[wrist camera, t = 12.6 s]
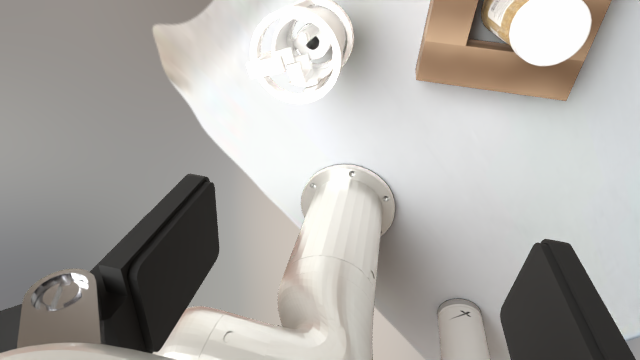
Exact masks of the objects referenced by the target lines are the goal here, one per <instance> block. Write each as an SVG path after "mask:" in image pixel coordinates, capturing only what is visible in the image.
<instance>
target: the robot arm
mask: <svg viewBox="0 0 640 360" xmlns="http://www.w3.org/2000/svg"><path fill="white" fill-rule="evenodd" d="M352 171H354V172H352ZM301 208H302V213H303V215H304V218H305V220H304V222H303V225H302V228H301V230H300V233H299V235H298V238H297V241H296V243H295V246H294V248H293V251H292V254H291V256H290V259H289V262H288V264H287V267H286V270H285V272H284V275H283V278H282V280H281V283H280V287H279V291H278V311H279V316H280V320H281V323H282V326H283V327H282V326H279V325H278V326H274V325H271V324H268V323H264V322H261V321H257V320H254V319H250V318H247V317H243V316H240V315H236V314H233V313H229V312H226V311H223V310H219V309H214V308H210V307H204V306H195V307H190V308H187V306H188V305H189V303H190V302H191V300H192V298H193V297H194V295H195V293H196V292H197V290H198V289H199V287H200V285H201V284H202V282H203V280H204V279H205V277H206V276H207V274H208V273H209V271H210V269H211V268H212V266H213V264H214V263H215V261H216V259H217V257H218V254H219V239H218V226H217V212H216V200H215V187H214V184H213V183H211V182H210V181H209V179H208V177H205V176H199V175H194V174H188V175H186V176H185V177H184V178H183V179H182V180H181V181H180V182H179V183H178V184H177V185H176V186H175V187H174V188H173V189H172V190H171V191H170V192H169V193H168V194H167V195H166V196H165V197H164V198H163V199H162V200H161V201H160V202H159V203H158V205H156V206H155V208H153V210H151V212H149V213H148V214H147V215H146V216H145V217H144V218H143V219H142V220H141V221H140V222H139V223H138V224H137V225H136V226H135V227H134V228H133V229H132V230H131V231H130V232H129V233H128V234H127V235H126V236H125V237H124V238H123V239H122V240H121V241H120V242H119V243H118V244H117V245H116V246H115V247H114V248H113V249H112V250H111V251H110V252H109V253H108V254H107V255H106V256H105V257H104V258H103V259H102V260H101V261H100V262H99V263H98V264H97V265H96V266H95V267H94V268H93V269H92V270H91V271H90V272H89V271H86V270H83V269H66V270H61V271H58V272H55V273H52V274H49V275H48V276H46V277H44V278H42V279H40V280H39V281H38V282H36V283H35V284H34V285H32V286H31V287H30V289H29V290H28V291H27V293H26V294H25V296H24V299H23V302H22V304H20V305H17V306H14V307H12V308H8V309H5V310H2V311H0V360H373V354H372V327H373V312H374V302H375V289H376V278H377V267H378V256H379V245H380V237H381V236H382V235H383V234H384V233H385V232H386V231H387V230H388V229H389V227H390V226H391V224H392V221H393V219H394V213H395V202H394V198H393V194H392V192H391V190H390V188H389V187H388V185H387V184H386V183H385V182H384V181H383V180H382V179H381V178H380V177H379V176H378V175H376V174H375V173H373V172H371V171H370V170H368V169H365V168H362V167H359V166H355V165H345V164H341V165H333V166H330V167H327V168H324V169H322V170H320V171H318V172H317V173H316V174H314V175H313V176H312V177H311V178H310V180H309V181H308V182H307V184H306V186H305V188H304V190H303V193H302V196H301ZM186 308H187V309H186ZM500 318H501V323H502V327H503V331H504V335H505V338H506V342H507V346H508V350H509V354H510V358H511V360H636V359H635V357H634V356H633V354H632V352H631V350H630V349H629V347H628V345H627V343H626V341H625V340H624V338H623V336H622V334H621V333H620V331H619V329H618V327H617V326H616V324H615V322H614V320H613V319H612V317H611V315H610V313H609V311H608V310H607V308H606V306H605V304H604V303H603V301H602V299H601V297H600V296H599V294H598V292H597V290H596V289H595V287H594V285H593V283H592V281H591V280H590V278H589V276H588V274H587V273H586V271H585V269H584V267H583V266H582V264H581V262H580V260H579V259H578V257H577V255H576V253H575V251H574V250H573V248H572V246H571V245H570V244H569V243H565V242H560V241H554V240H549V239H544V240H543V241H542V242H541V243H535V244H534V246H533V247H532V249H531V251H530V253H529V255H528V257H527V259H526V261H525V263H524V265H523V267H522V269H521V271H520V272H519V274H518V276H517V278H516V280H515V282H514V284H513V286H512V288H511V290H510V292H509V294H508V296H507V298H506V300H505V302H504V304H503V306H502V308H501V313H500Z"/></svg>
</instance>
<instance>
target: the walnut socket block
mask: <svg viewBox="0 0 640 360" xmlns="http://www.w3.org/2000/svg"><path fill="white" fill-rule="evenodd" d="M582 1H584V3H585V4H586V5H587V6H588V8H589V10H590V13H591V19H592V23H591V30H590V33H589V36H588V38H587V40H586V41H585V43H584V44H583V46H582V47H581V48H580V49H579V51H577V52H576V53H575V54H574V55H573V56H572V57H570V58H569V59H567V60H565V61H563V62H561V63H559V64H556V65H551V66H536V65H533V64H530V63H528V62H526V61H525V60H523V59H522V58H520V57H519V56H518V55H517V54H516V53H515V52H514V50H513V49H512V47H511V46H510V45H509V44H505V43H497V42H489V41H481V40H473V39H468V36H469V32H470V28H471V25H472V21H473V18H474V14H475V11H476V7H477V3H478V0H431V1H430V5H429V10H428V14H427V19H426V23H425V28H424V33H423V37H422V42H421V46H420V51H419V55H418V60H417V65H416V69H415V70H416V80H420V81H427V82H434V83H442V84H449V85H456V86H463V87H470V88H477V89H485V90H492V91H499V92H506V93H513V94H520V95H528V96H535V97H542V98H549V99H556V100H563V101H566V100H567V98H568V96H569V94H570V91H571V89H572V87H573V85H574V83H575V80H576V78H577V76H578V74H579V71H580V69H581V67H582V65H583V63H584V60H585V58H586V56H587V54H588V51H589V49H590V47H591V45H592V43H593V40H594V38H595V36H596V34H597V32H598V29H599V27H600V25H601V23H602V20H603V18H604V16H605V14H606V12H607V9H608V7H609V5H610V3H611V1H612V0H582Z"/></svg>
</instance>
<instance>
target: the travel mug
mask: <svg viewBox="0 0 640 360" xmlns="http://www.w3.org/2000/svg"><path fill="white" fill-rule="evenodd" d="M437 315H438V327H439V338H440V350H441V360H491V359H490V354H489V349H488V345H487V340H486V335H485V330H484V326H483V321H482V316H481V311H480V309H479V308H478V306H477V305H476V304H474V303H473V302H471V301H468V300H465V299H451V300H448V301H445V302H444V303H442V304H441V305H440V306H439V308H438V311H437Z"/></svg>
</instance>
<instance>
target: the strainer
mask: <svg viewBox="0 0 640 360" xmlns="http://www.w3.org/2000/svg"><path fill="white" fill-rule="evenodd" d="M315 4H318V5H322V6H325V7H327V8H329V9H331V10H332V11H334V12H335V13H336V14H337V15H338V16H339V17H338V16H337V15H336V14H335V13H334V12H332V11H331V10H329V9H327V8H325V7H321V6H315ZM280 17H282V18H281V20H280V23H279V26H278V27H277V29H276V31H275V33H274V36H273V40H272V52H271V51H269V52H265V53H261V43H262V39H263V36H264V34H265V32H266V30H267V28H268V27H269V25H270V24H271V23H272V22H274V21H275V20H276V19H278V18H280ZM339 18H340V19H341V20H340V19H339ZM297 20H304V23H307V22H309V23H308V24H306V25H305V26H304V27H302V28H301V29H300V30H299V32H298V34H297V36H296V38H295V37H293V38H292V34H293V29H294V26H295V24H296V22H297ZM341 21H342V22H343V24H344V26H343V24H342V22H341ZM344 27H345V29H346V33H347V47H346V51H345V54H344V56H343V50H344V47H345V43H346V34H345V29H344ZM353 44H354V32H353V27H352V23H351V21H350V19H349V17H348V15H347V14H346V12H345V11H344V10H343V9H342V8H341V7H340V6H339V5H338V4H337V3H335V2H333V1H332V0H300V1H298V2H296V3H293V4H291V5H289V6H287V7H284V8H282V9H280V10H277V11H275V12H273V13H271V14H270V15H268V16H267V17H266V18H264V19H263V20H262V21H261V23H260V24H259V25H258V27H257V28H256V30H255V32H254V34H253V37H252V41H251V46H250V58H251V61H249V62H248V63H246V67H247V70H248V73H249V76H250V78H251V79H254V78H257V79H258V80H259V82H260V83H261V85H262V86H263V87H264V88H265V89H266V90H267V91H268V92H269V93H270V94H272V95H273V96H274V97H276V98H278V99H280V100H282V101H285V102H288V103H294V104H305V103H310V102H313V101H315V100H318V99H319V98H321V97H323V96H324V95H325V94H326V93H327V92H328V91H329V90H330V89H331V88H332V87H333V85H334V84H335V82H336V80H337V78H338V76H339V74H340V71H341V68H342V67H343V66H344V65H345V63H346V62H347V60H348V58H349V56H350V54H351V52H352V49H353ZM331 46H332V47H333V57H332V59H331V60H329V61H327V62H325V63H320V64H315V63H311V59H312V60H315V59H319V58H321V57H322V56H324V55H325V53H326V52H327V51H328V50H329V48H330V47H331ZM297 49H298V51H299V52H300V54H301V55H299V54H298V53H297V51H296V50H297ZM285 64H287V65H286V66H287V69H288V70H287V71H288V74H289V76H290V80H291V81H290V82H289V83H290V84H293V85H296V86H303V87H305V86H307V87H306V88H305V90H304V91H303V92H302V94H298V93H292V92H289V91H287V90H284V89H283V88H281V87H279V86H278V85H277V84H276V83H275V82H274V81H273V80H272V79H271V78H270V77H269V75H275V74H279V73H283V72H285V71H286V69H285ZM329 76H331V77H330V79H329V81H328V82H327V83H326V84H325V85H324V83H325V81H326V80H327V78H328V77H329ZM323 85H324V86H323ZM322 86H323V87H322Z"/></svg>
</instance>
